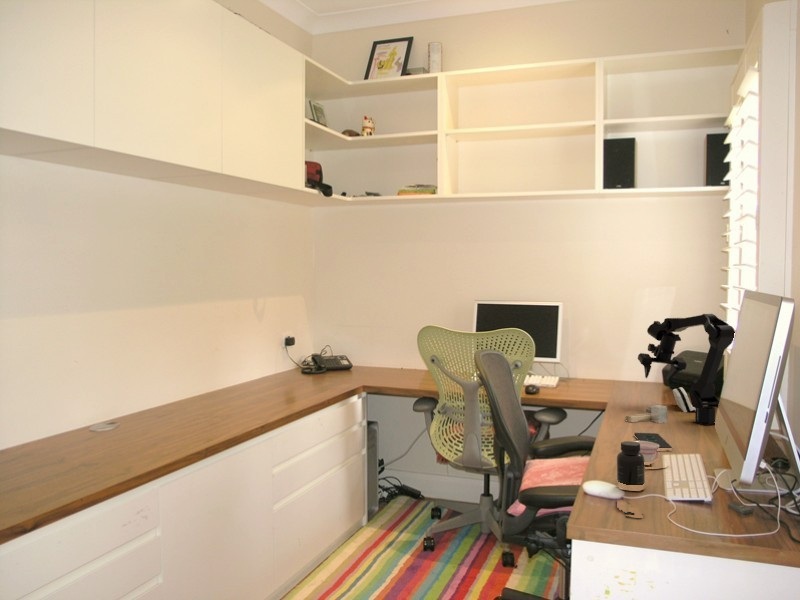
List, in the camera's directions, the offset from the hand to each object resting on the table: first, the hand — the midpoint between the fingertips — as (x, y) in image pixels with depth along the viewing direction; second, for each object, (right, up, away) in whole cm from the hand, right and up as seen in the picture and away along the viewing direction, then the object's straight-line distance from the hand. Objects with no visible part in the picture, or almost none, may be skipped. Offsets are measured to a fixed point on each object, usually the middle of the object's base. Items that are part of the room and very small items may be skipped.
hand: (656, 379), depth 269 cm
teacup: (-35, -16, -79) cm, 88 cm away
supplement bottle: (-47, -17, -101) cm, 113 cm away
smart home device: (-23, -16, -54) cm, 61 cm away
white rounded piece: (+13, -13, +3) cm, 19 cm away
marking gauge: (-9, -14, -20) cm, 25 cm away
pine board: (-14, -14, -19) cm, 27 cm away
